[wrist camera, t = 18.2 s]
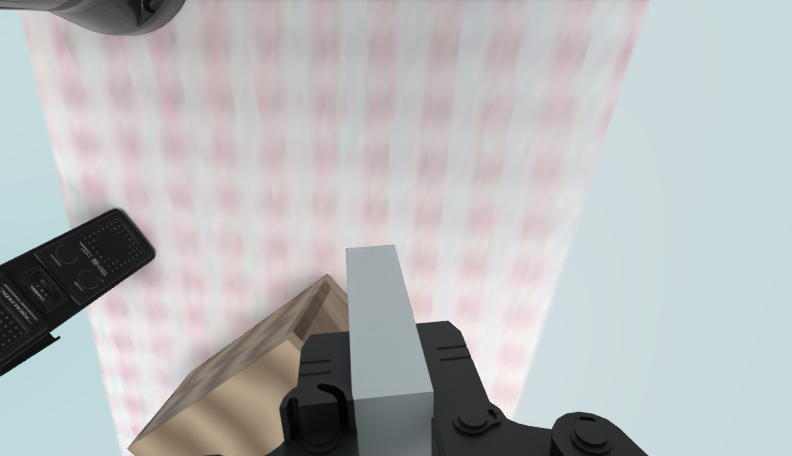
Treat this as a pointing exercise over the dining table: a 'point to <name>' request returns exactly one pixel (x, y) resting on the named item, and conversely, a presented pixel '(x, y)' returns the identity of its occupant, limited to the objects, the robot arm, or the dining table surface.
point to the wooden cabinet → (244, 384)
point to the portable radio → (63, 282)
